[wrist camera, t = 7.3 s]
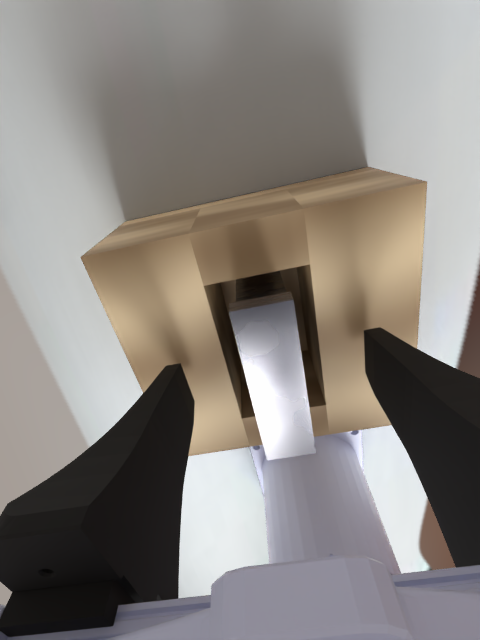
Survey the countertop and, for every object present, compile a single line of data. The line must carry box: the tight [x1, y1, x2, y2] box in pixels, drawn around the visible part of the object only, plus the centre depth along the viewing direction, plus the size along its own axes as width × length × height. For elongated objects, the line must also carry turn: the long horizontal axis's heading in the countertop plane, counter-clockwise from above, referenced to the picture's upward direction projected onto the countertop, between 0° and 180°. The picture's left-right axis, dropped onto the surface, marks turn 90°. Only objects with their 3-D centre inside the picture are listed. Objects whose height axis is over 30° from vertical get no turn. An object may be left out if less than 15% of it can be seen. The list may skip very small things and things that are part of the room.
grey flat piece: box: [229, 271, 316, 460], centre depth 15 cm, size 7×2×7 cm, turn 12°
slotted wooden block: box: [81, 167, 427, 456], centre depth 16 cm, size 11×12×6 cm
